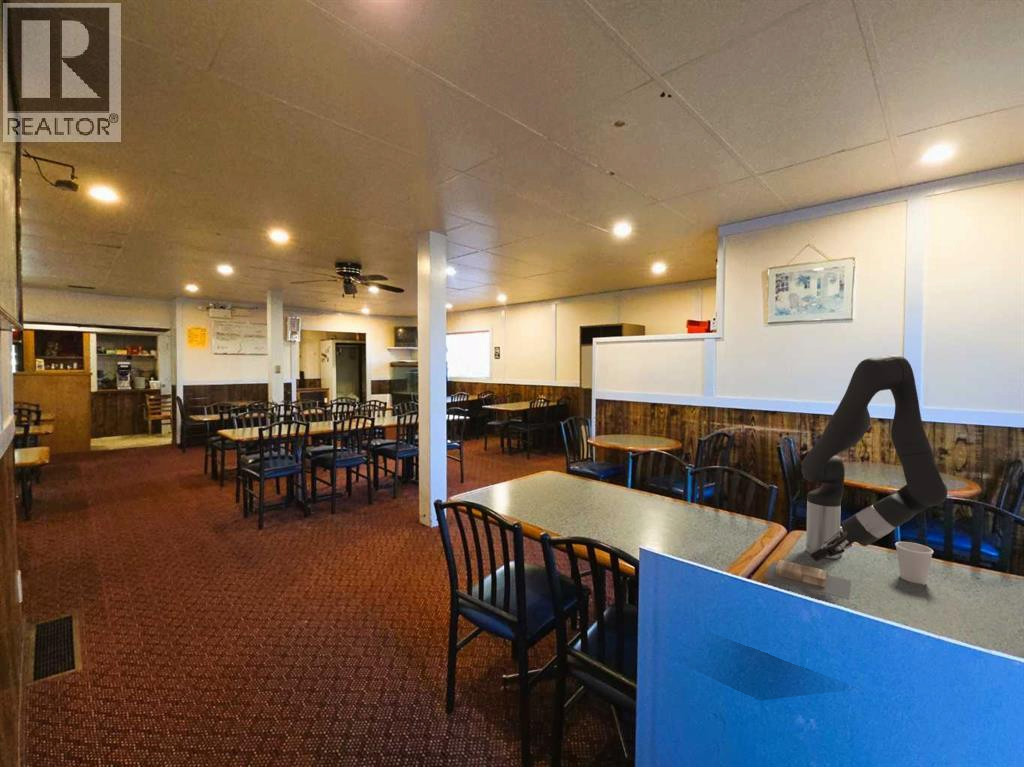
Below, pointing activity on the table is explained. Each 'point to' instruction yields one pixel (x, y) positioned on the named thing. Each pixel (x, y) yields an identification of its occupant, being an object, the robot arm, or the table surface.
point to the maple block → (801, 573)
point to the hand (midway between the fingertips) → (813, 557)
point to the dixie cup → (914, 561)
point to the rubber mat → (832, 585)
